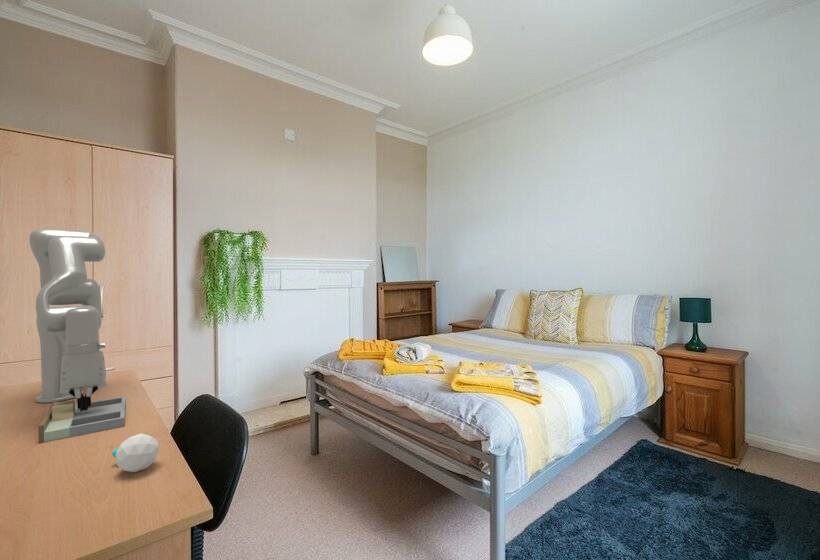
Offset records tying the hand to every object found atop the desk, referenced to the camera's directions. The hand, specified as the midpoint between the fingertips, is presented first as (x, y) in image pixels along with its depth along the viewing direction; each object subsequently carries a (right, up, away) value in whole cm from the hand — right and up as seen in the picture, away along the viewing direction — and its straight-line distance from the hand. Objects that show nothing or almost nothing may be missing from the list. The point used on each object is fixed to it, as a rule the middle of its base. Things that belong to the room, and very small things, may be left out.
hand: (84, 409), depth 113 cm
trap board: (0, -4, +1) cm, 4 cm away
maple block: (-3, -1, -3) cm, 5 cm away
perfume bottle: (+34, -5, -26) cm, 43 cm away
